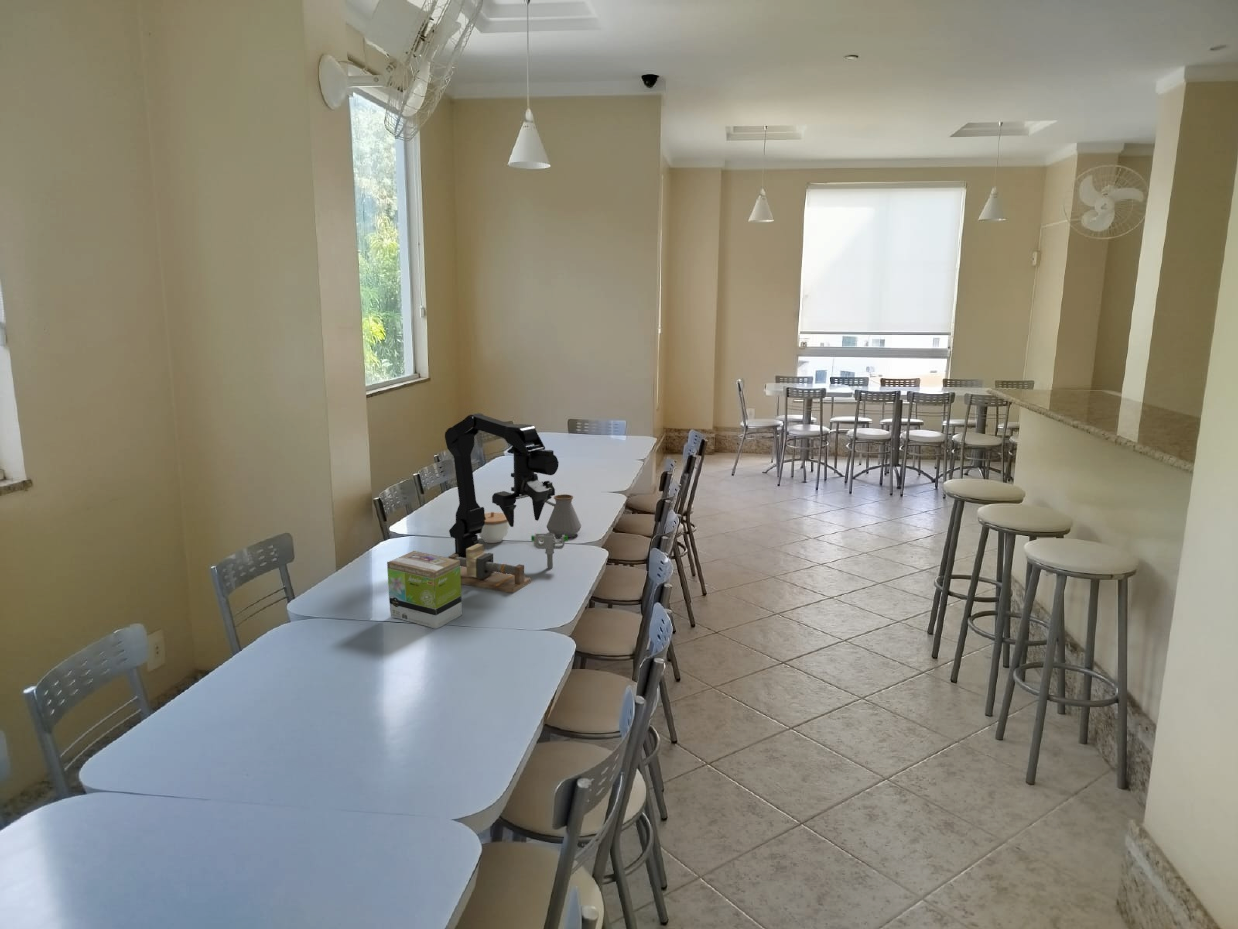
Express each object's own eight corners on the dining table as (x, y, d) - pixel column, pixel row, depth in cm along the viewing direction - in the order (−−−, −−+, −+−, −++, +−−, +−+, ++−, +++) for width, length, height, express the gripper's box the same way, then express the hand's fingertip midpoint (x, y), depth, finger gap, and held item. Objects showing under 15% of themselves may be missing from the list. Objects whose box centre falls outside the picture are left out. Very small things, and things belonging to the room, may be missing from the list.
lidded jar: (470, 543, 253) (469, 515, 251) (485, 534, 263) (484, 506, 261) (501, 546, 250) (500, 517, 248) (515, 536, 260) (514, 509, 258)
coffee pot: (584, 530, 267) (584, 487, 264) (576, 540, 256) (576, 495, 253) (523, 527, 271) (522, 484, 268) (513, 536, 260) (512, 492, 257)
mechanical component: (567, 569, 228) (566, 536, 226) (531, 569, 229) (530, 536, 227) (568, 566, 231) (567, 533, 229) (533, 566, 232) (532, 533, 229)
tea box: (388, 618, 194) (385, 560, 191) (416, 604, 203) (413, 549, 200) (436, 630, 187) (433, 570, 184) (463, 615, 196) (461, 558, 193)
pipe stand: (442, 580, 220) (441, 559, 219) (461, 570, 228) (460, 550, 227) (513, 593, 210) (512, 571, 209) (530, 582, 218) (530, 561, 217)
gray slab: (477, 578, 217) (476, 558, 216) (488, 571, 222) (488, 552, 220) (482, 579, 216) (481, 559, 215) (493, 572, 221) (493, 553, 220)
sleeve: (467, 575, 218) (465, 549, 217) (478, 569, 223) (477, 543, 221) (476, 577, 217) (475, 550, 215) (487, 571, 222) (486, 545, 220)
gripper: (516, 480, 210) (516, 536, 214) (567, 469, 224) (567, 523, 227) (490, 473, 218) (491, 527, 221) (542, 463, 231) (542, 515, 234)
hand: (524, 523), depth 226 cm, fingers open, 9 cm apart
